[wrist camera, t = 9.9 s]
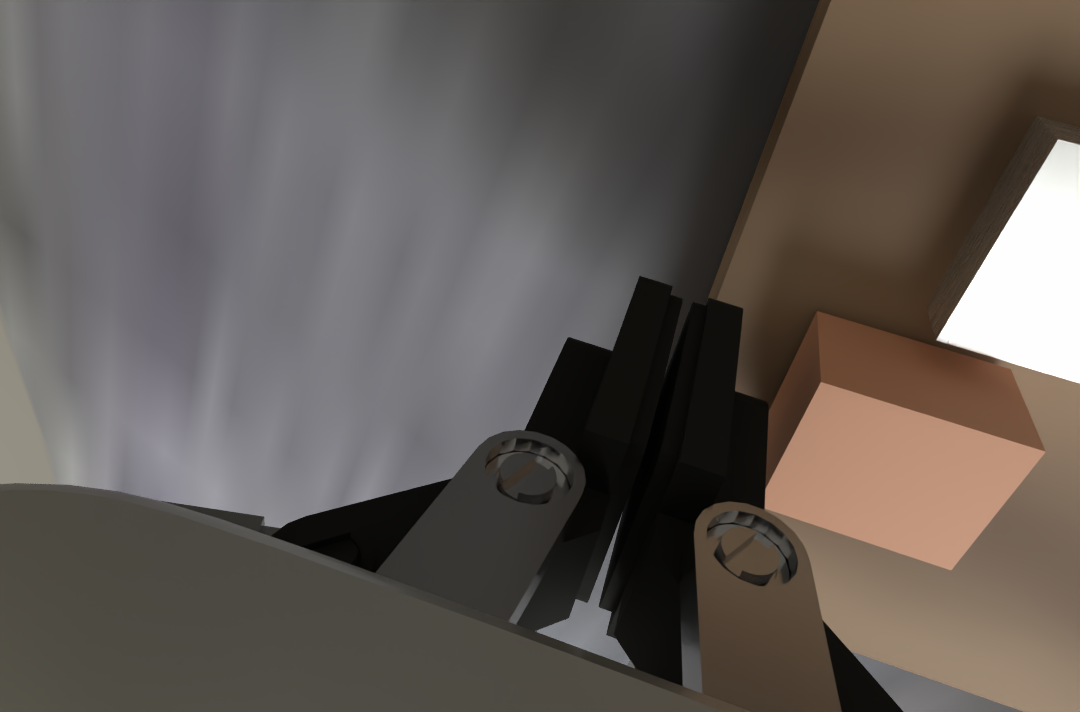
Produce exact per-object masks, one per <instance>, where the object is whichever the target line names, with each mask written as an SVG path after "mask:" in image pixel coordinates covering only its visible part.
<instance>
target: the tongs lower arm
mask: <svg viewBox="0 0 1080 712" xmlns="http://www.w3.org/2000/svg"><path fill="white" fill-rule="evenodd" d="M926 308H927V311H928V315H929V318H930V321H931V325H932V328H933V331H934V335H935V338H936V340H937V341H940V342H944V343H947V344H950V345H954V346H957V347H960V348H964V349H967V350H970V351H974V352H977V353H981V354H984V355H987V356H991V357H994V358H997V359H1001V360H1004V361H1007V362H1011V363H1014V364H1017V365H1021V366H1024V367H1027V368H1031V369H1034V370H1037V371H1041V372H1044V373H1047V374H1051V375H1054V376H1057V377H1061V378H1064V379H1067V380H1071V381H1074V382H1077V383H1080V127H1077V126H1073V125H1069V124H1065V123H1062V122H1058V121H1054V120H1050V119H1046V118H1042V117H1039V116H1036V118H1035V120H1034V121H1033V123H1032V125H1031V127H1030V128H1029V130H1028V132H1027V134H1026V135H1025V137H1024V139H1023V140H1022V142H1021V144H1020V146H1019V147H1018V149H1017V151H1016V152H1015V154H1014V156H1013V158H1012V159H1011V161H1010V163H1009V165H1008V166H1007V168H1006V170H1005V171H1004V173H1003V175H1002V177H1001V178H1000V180H999V182H998V184H997V185H996V187H995V189H994V190H993V192H992V194H991V196H990V197H989V199H988V201H987V203H986V204H985V206H984V208H983V209H982V211H981V213H980V215H979V216H978V218H977V220H976V221H975V223H974V225H973V227H972V228H971V230H970V232H969V234H968V235H967V237H966V239H965V240H964V242H963V244H962V246H961V247H960V249H959V251H958V253H957V254H956V256H955V258H954V259H953V261H952V263H951V265H950V266H949V268H948V270H947V272H946V273H945V275H944V277H943V278H942V280H941V282H940V284H939V285H938V287H937V289H936V290H935V292H934V294H933V296H932V297H931V299H930V301H929V303H928V304H927V306H926Z"/></svg>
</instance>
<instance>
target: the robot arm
mask: <svg viewBox="0 0 1080 712" xmlns="http://www.w3.org/2000/svg"><path fill="white" fill-rule="evenodd" d="M671 290H672V286H670V285H667V284H664V283H661V282H658V281H654V280H651V279H648V278H645V277H642V276H640V277H639V279H638V282H637V285H636V288H635V290H634V293H633V296H632V299H631V302H630V304H629V307H628V310H627V313H626V315H625V318H624V321H623V324H622V327H621V329H620V332H619V335H618V338H617V340H616V343H615V346H614V349H613V351H610V350H607V349H604V348H601V347H598V346H595V345H592V344H589V343H586V342H583V341H580V340H576V339H573V338H570V337H569V338H568V339H567V340H566V342H565V344H564V347H563V349H562V351H561V353H560V355H559V357H558V360H557V362H556V364H555V366H554V368H553V370H552V372H551V375H550V377H549V379H548V381H547V383H546V385H545V388H544V390H543V392H542V394H541V396H540V398H539V401H538V403H537V405H536V407H535V409H534V411H533V413H532V416H531V418H530V420H529V422H528V424H527V426H526V429H525V431H523V430H515V431H506V432H502V433H499V434H496V435H494V436H491V437H489V438H488V439H487V440H485V441H484V442H483V443H482V444H481V445H479V446H478V448H477V449H476V450H475V451H474V453H473V454H472V455H471V456H470V457H469V459H468V460H467V461H466V462H465V464H464V465H463V466H462V467H461V468H460V470H459V471H458V472H457V473H456V475H455V476H454V477H453V478H452V479H448V480H444V481H441V482H437V483H433V484H429V485H425V486H421V487H417V488H413V489H410V490H406V491H402V492H398V493H394V494H390V495H386V496H382V497H379V498H375V499H371V500H367V501H363V502H359V503H355V504H351V505H348V506H344V507H340V508H336V509H332V510H328V511H324V512H320V513H317V514H313V515H309V516H305V517H303V518H300V519H298V520H295V521H293V522H290V523H288V524H286V525H285V526H283V527H282V528H275V527H268V526H265V523H264V517H262V516H256V515H249V514H243V513H236V512H229V511H223V510H216V509H210V508H203V507H197V506H190V505H184V504H177V503H170V502H164V501H158V500H154V499H149V498H145V497H141V496H136V495H132V494H127V493H123V492H119V491H111V490H104V489H96V488H89V487H81V486H73V485H54V484H22V483H14V484H0V712H903V711H902V710H901V708H900V707H899V706H898V705H897V704H896V703H895V702H894V700H893V699H892V698H891V697H890V696H889V695H888V694H887V693H886V691H885V690H884V689H883V688H882V687H881V686H880V685H879V683H878V682H877V681H876V680H875V679H874V678H873V677H872V675H871V674H870V673H869V672H868V671H867V670H866V669H865V667H864V666H863V665H862V664H861V663H860V662H859V661H858V659H857V658H856V657H855V656H854V655H853V654H852V653H851V652H850V650H849V649H848V648H847V647H846V646H845V645H844V644H843V642H842V641H841V640H840V639H839V638H838V637H837V636H836V634H835V633H834V632H833V631H832V630H831V629H830V628H829V626H828V625H827V624H826V623H825V622H824V621H823V620H822V615H821V610H820V606H819V601H818V596H817V591H816V587H815V582H814V577H813V572H812V567H811V563H810V559H809V557H808V554H807V551H806V549H805V546H804V545H803V543H802V542H801V540H800V539H799V538H798V536H797V535H796V534H795V532H794V531H793V530H792V529H791V528H789V527H788V526H787V525H786V524H785V523H784V522H783V521H782V520H780V519H779V518H777V517H776V516H774V515H772V514H770V513H769V512H767V511H765V489H766V464H767V440H768V416H769V406H768V403H767V401H764V400H761V399H758V398H755V397H752V396H749V395H746V394H743V393H740V392H737V391H735V385H736V376H737V366H738V357H739V347H740V338H741V329H742V319H743V308H741V307H738V306H734V305H731V304H728V303H725V302H722V301H718V300H715V299H712V298H709V299H708V300H707V303H706V305H705V306H704V305H701V304H697V303H694V302H693V303H692V306H691V308H690V311H689V313H688V316H687V319H686V321H685V324H684V327H683V329H682V332H681V335H680V337H679V340H678V343H677V345H676V348H675V351H674V353H673V356H672V359H671V361H670V364H669V367H668V369H667V372H666V375H665V378H664V374H665V370H666V366H667V362H668V358H669V354H670V350H671V346H672V341H673V337H674V333H675V329H676V325H677V321H678V317H679V313H680V309H681V305H682V300H683V299H682V298H678V297H675V296H672V295H670V294H671ZM663 378H664V380H663ZM662 382H663V383H662ZM622 512H623V513H622ZM621 514H622V517H621ZM620 517H621V521H620V525H619V529H618V533H617V536H616V540H615V544H614V548H613V552H612V556H611V560H610V564H609V568H608V571H607V575H606V579H605V583H604V587H603V591H602V595H601V599H600V603H599V607H600V608H603V609H606V610H608V611H611V612H612V613H611V617H610V622H609V626H608V630H607V634H606V635H608V636H611V637H613V638H616V639H617V640H618V642H619V643H620V645H621V646H622V648H623V649H624V651H625V653H626V654H627V656H628V657H629V659H630V661H629V663H628V665H627V666H626V665H624V664H621V663H618V662H616V661H613V660H610V659H608V658H605V657H602V656H599V655H597V654H594V653H591V652H589V651H586V650H583V649H581V648H578V647H575V646H572V645H570V644H567V643H564V642H562V641H559V640H556V639H553V638H551V637H548V636H545V635H543V634H540V633H537V630H539V629H541V628H544V627H547V626H549V625H552V624H554V623H557V622H559V621H562V620H566V619H567V618H569V616H570V613H571V610H572V607H573V605H574V602H575V599H578V600H581V601H584V602H586V603H587V602H588V600H589V598H590V595H591V593H592V590H593V587H594V585H595V582H596V580H597V577H598V574H599V572H600V569H601V567H602V564H603V561H604V559H605V556H606V554H607V551H608V548H609V546H610V543H611V540H612V538H613V535H614V533H615V530H616V527H617V525H618V522H619V520H620Z"/></svg>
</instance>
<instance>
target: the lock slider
mask: <svg viewBox="0 0 1080 712" xmlns="http://www.w3.org/2000/svg"><path fill="white" fill-rule="evenodd" d="M1045 452H1046V451H1045V449H1044V446H1043V444H1042V441H1041V439H1040V437H1039V434H1038V432H1037V430H1036V427H1035V425H1034V423H1033V420H1032V418H1031V416H1030V413H1029V411H1028V408H1027V406H1026V404H1025V401H1024V399H1023V397H1022V394H1021V392H1020V390H1019V387H1018V385H1017V383H1016V380H1015V378H1014V376H1013V373H1012V371H1011V369H1009V368H1006V367H1002V366H999V365H996V364H992V363H989V362H986V361H982V360H979V359H976V358H972V357H969V356H966V355H962V354H959V353H956V352H952V351H949V350H946V349H942V348H939V347H936V346H932V345H929V344H926V343H922V342H919V341H916V340H912V339H909V338H906V337H902V336H899V335H896V334H892V333H889V332H886V331H882V330H879V329H876V328H872V327H869V326H866V325H862V324H859V323H856V322H852V321H849V320H846V319H842V318H839V317H836V316H832V315H829V314H826V313H822V312H819V311H817V312H816V314H815V316H814V318H813V320H812V322H811V325H810V327H809V329H808V331H807V333H806V335H805V337H804V339H803V341H802V343H801V345H800V347H799V349H798V352H797V354H796V356H795V358H794V360H793V362H792V364H791V366H790V368H789V370H788V372H787V374H786V377H785V379H784V381H783V383H782V385H781V387H780V389H779V391H778V393H777V395H776V397H775V399H774V402H773V404H772V406H771V408H770V410H769V416H768V440H767V464H766V489H765V509H768V510H771V511H774V512H777V513H780V514H783V515H786V516H789V517H792V518H795V519H798V520H801V521H804V522H807V523H810V524H813V525H816V526H819V527H822V528H825V529H828V530H831V531H834V532H837V533H840V534H843V535H846V536H849V537H852V538H855V539H858V540H861V541H864V542H867V543H870V544H873V545H876V546H879V547H882V548H885V549H888V550H891V551H894V552H897V553H900V554H903V555H906V556H909V557H912V558H915V559H918V560H921V561H924V562H927V563H930V564H933V565H936V566H939V567H942V568H945V569H948V570H952V569H953V568H954V566H955V565H956V564H957V563H958V561H959V560H960V559H961V558H962V556H963V555H964V554H965V552H966V551H967V550H968V549H969V547H970V546H971V545H972V544H973V542H974V541H975V540H976V539H977V537H978V536H979V535H980V534H981V532H982V531H983V530H984V529H985V527H986V526H987V525H988V524H989V522H990V521H991V520H992V519H993V517H994V516H995V515H996V514H997V512H998V511H999V510H1000V509H1001V507H1002V506H1003V505H1004V504H1005V502H1006V501H1007V500H1008V499H1009V497H1010V496H1011V495H1012V494H1013V492H1014V491H1015V490H1016V489H1017V487H1018V486H1019V485H1020V484H1021V482H1022V481H1023V480H1024V479H1025V477H1026V476H1027V475H1028V474H1029V472H1030V471H1031V470H1032V469H1033V467H1034V466H1035V465H1036V464H1037V462H1038V461H1039V460H1040V459H1041V457H1042V456H1043V455H1044V454H1045Z"/></svg>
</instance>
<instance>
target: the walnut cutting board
mask: <svg viewBox="0 0 1080 712" xmlns="http://www.w3.org/2000/svg"><path fill="white" fill-rule="evenodd" d="M1036 116H1039V117H1042V118H1046V119H1050V120H1054V121H1058V122H1062V123H1065V124H1069V125H1073V126H1077V127H1080V0H819V2H818V5H817V7H816V10H815V13H814V15H813V18H812V21H811V23H810V26H809V29H808V31H807V34H806V37H805V39H804V42H803V45H802V47H801V50H800V53H799V55H798V58H797V61H796V63H795V66H794V69H793V71H792V74H791V77H790V79H789V82H788V85H787V87H786V90H785V93H784V95H783V98H782V101H781V103H780V106H779V109H778V112H777V114H776V117H775V120H774V122H773V125H772V128H771V130H770V133H769V136H768V138H767V141H766V144H765V146H764V149H763V152H762V154H761V157H760V160H759V162H758V165H757V168H756V170H755V173H754V176H753V178H752V181H751V184H750V186H749V189H748V192H747V194H746V197H745V200H744V202H743V205H742V208H741V210H740V213H739V216H738V218H737V221H736V224H735V226H734V229H733V232H732V235H731V237H730V240H729V243H728V245H727V248H726V251H725V253H724V256H723V259H722V261H721V264H720V267H719V269H718V272H717V275H716V277H715V280H714V283H713V285H712V288H711V291H710V293H709V296H708V299H709V298H712V299H715V300H718V301H722V302H725V303H728V304H731V305H734V306H738V307H741V308H743V319H742V329H741V338H740V347H739V357H738V366H737V376H736V385H735V391H737V392H740V393H743V394H746V395H749V396H752V397H755V398H758V399H761V400H764V401H767V403H768V406H769V410H770V408H771V406H772V404H773V402H774V399H775V397H776V395H777V393H778V391H779V389H780V387H781V385H782V383H783V381H784V379H785V377H786V374H787V372H788V370H789V368H790V366H791V364H792V362H793V360H794V358H795V356H796V354H797V352H798V349H799V347H800V345H801V343H802V341H803V339H804V337H805V335H806V333H807V331H808V329H809V327H810V325H811V322H812V320H813V318H814V316H815V314H816V312H817V311H819V312H822V313H826V314H829V315H832V316H836V317H839V318H842V319H846V320H849V321H852V322H856V323H859V324H862V325H866V326H869V327H872V328H876V329H879V330H882V331H886V332H889V333H892V334H896V335H899V336H902V337H906V338H909V339H912V340H916V341H919V342H922V343H926V344H929V345H932V346H936V347H939V348H942V349H946V350H949V351H952V352H956V353H959V354H962V355H966V356H969V357H972V358H976V359H979V360H982V361H986V362H989V363H992V364H996V365H999V366H1002V367H1006V368H1009V369H1011V371H1012V373H1013V376H1014V378H1015V380H1016V383H1017V385H1018V387H1019V390H1020V392H1021V394H1022V397H1023V399H1024V401H1025V404H1026V406H1027V408H1028V411H1029V413H1030V416H1031V418H1032V420H1033V423H1034V425H1035V427H1036V430H1037V432H1038V434H1039V437H1040V439H1041V441H1042V444H1043V446H1044V449H1045V451H1046V452H1045V454H1044V455H1043V456H1042V457H1041V459H1040V460H1039V461H1038V462H1037V464H1036V465H1035V466H1034V467H1033V469H1032V470H1031V471H1030V472H1029V474H1028V475H1027V476H1026V477H1025V479H1024V480H1023V481H1022V482H1021V484H1020V485H1019V486H1018V487H1017V489H1016V490H1015V491H1014V492H1013V494H1012V495H1011V496H1010V497H1009V499H1008V500H1007V501H1006V502H1005V504H1004V505H1003V506H1002V507H1001V509H1000V510H999V511H998V512H997V514H996V515H995V516H994V517H993V519H992V520H991V521H990V522H989V524H988V525H987V526H986V527H985V529H984V530H983V531H982V532H981V534H980V535H979V536H978V537H977V539H976V540H975V541H974V542H973V544H972V545H971V546H970V547H969V549H968V550H967V551H966V552H965V554H964V555H963V556H962V558H961V559H960V560H959V561H958V563H957V564H956V565H955V566H954V568H953V569H952V570H948V569H945V568H942V567H939V566H936V565H933V564H930V563H927V562H924V561H921V560H918V559H915V558H912V557H909V556H906V555H903V554H900V553H897V552H894V551H891V550H888V549H885V548H882V547H879V546H876V545H873V544H870V543H867V542H864V541H861V540H858V539H855V538H852V537H849V536H846V535H843V534H840V533H837V532H834V531H831V530H828V529H825V528H822V527H819V526H816V525H813V524H810V523H807V522H804V521H801V520H798V519H795V518H792V517H789V516H786V515H783V514H780V513H777V512H774V511H771V510H768V509H765V511H767V512H769V513H770V514H772V515H774V516H776V517H777V518H779V519H780V520H782V521H783V522H784V523H785V524H786V525H787V526H788V527H789V528H791V529H792V530H793V531H794V532H795V534H796V535H797V536H798V538H799V539H800V540H801V542H802V543H803V545H804V546H805V549H806V551H807V554H808V557H809V559H810V563H811V567H812V572H813V577H814V582H815V587H816V591H817V596H818V601H819V606H820V610H821V615H822V620H823V621H824V622H825V623H826V624H827V625H828V626H829V628H830V629H831V630H832V631H833V632H834V633H835V634H836V636H837V637H838V638H839V639H840V640H841V641H842V642H843V644H844V645H845V646H846V647H847V648H848V649H849V650H850V651H852V652H855V653H858V654H861V655H863V656H866V657H869V658H872V659H875V660H878V661H881V662H883V663H886V664H889V665H892V666H895V667H898V668H901V669H903V670H906V671H909V672H912V673H915V674H918V675H921V676H924V677H926V678H929V679H932V680H935V681H938V682H941V683H944V684H946V685H949V686H952V687H955V688H958V689H961V690H964V691H966V692H969V693H972V694H975V695H978V696H981V697H984V698H986V699H989V700H992V701H995V702H998V703H1001V704H1004V705H1006V706H1009V707H1012V708H1015V709H1018V710H1021V711H1024V712H1080V383H1077V382H1074V381H1071V380H1067V379H1064V378H1061V377H1057V376H1054V375H1051V374H1047V373H1044V372H1041V371H1037V370H1034V369H1031V368H1027V367H1024V366H1021V365H1017V364H1014V363H1011V362H1007V361H1004V360H1001V359H997V358H994V357H991V356H987V355H984V354H981V353H977V352H974V351H970V350H967V349H964V348H960V347H957V346H954V345H950V344H947V343H944V342H940V341H937V340H936V338H935V335H934V331H933V328H932V325H931V321H930V318H929V315H928V311H927V308H926V306H927V304H928V303H929V301H930V299H931V297H932V296H933V294H934V292H935V290H936V289H937V287H938V285H939V284H940V282H941V280H942V278H943V277H944V275H945V273H946V272H947V270H948V268H949V266H950V265H951V263H952V261H953V259H954V258H955V256H956V254H957V253H958V251H959V249H960V247H961V246H962V244H963V242H964V240H965V239H966V237H967V235H968V234H969V232H970V230H971V228H972V227H973V225H974V223H975V221H976V220H977V218H978V216H979V215H980V213H981V211H982V209H983V208H984V206H985V204H986V203H987V201H988V199H989V197H990V196H991V194H992V192H993V190H994V189H995V187H996V185H997V184H998V182H999V180H1000V178H1001V177H1002V175H1003V173H1004V171H1005V170H1006V168H1007V166H1008V165H1009V163H1010V161H1011V159H1012V158H1013V156H1014V154H1015V152H1016V151H1017V149H1018V147H1019V146H1020V144H1021V142H1022V140H1023V139H1024V137H1025V135H1026V134H1027V132H1028V130H1029V128H1030V127H1031V125H1032V123H1033V121H1034V120H1035V118H1036ZM708 299H707V300H708ZM706 303H707V301H706ZM705 305H706V304H705Z"/></svg>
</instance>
